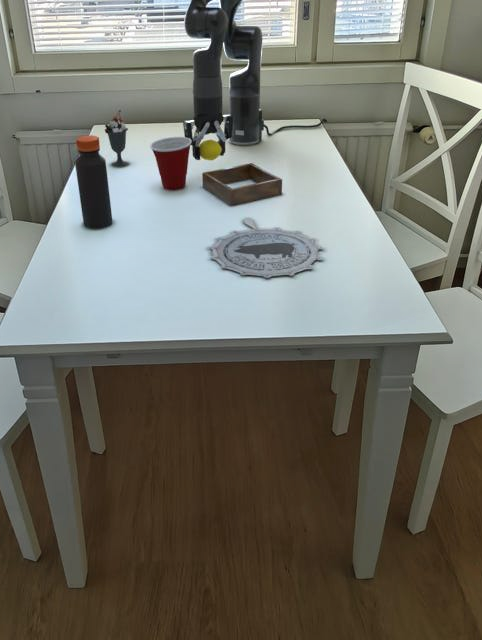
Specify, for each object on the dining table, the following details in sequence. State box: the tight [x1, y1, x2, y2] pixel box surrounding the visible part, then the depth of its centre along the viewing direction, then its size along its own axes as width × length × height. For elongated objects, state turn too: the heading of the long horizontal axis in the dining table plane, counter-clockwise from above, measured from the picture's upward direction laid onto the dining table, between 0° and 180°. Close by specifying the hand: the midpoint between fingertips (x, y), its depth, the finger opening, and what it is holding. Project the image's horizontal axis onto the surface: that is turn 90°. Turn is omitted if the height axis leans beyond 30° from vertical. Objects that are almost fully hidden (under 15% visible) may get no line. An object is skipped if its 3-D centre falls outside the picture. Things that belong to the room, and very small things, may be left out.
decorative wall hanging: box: [209, 217, 325, 279], centre depth 137 cm, size 24×1×30 cm
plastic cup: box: [149, 136, 192, 191], centre depth 165 cm, size 11×11×12 cm
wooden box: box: [202, 162, 283, 207], centre depth 164 cm, size 15×15×4 cm
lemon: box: [199, 139, 222, 161], centre depth 172 cm, size 7×5×5 cm
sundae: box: [104, 110, 129, 168], centre depth 181 cm, size 7×7×15 cm
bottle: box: [74, 134, 113, 230], centre depth 144 cm, size 7×7×20 cm
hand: (209, 157), depth 173 cm, fingers closed on lemon, 6 cm apart
